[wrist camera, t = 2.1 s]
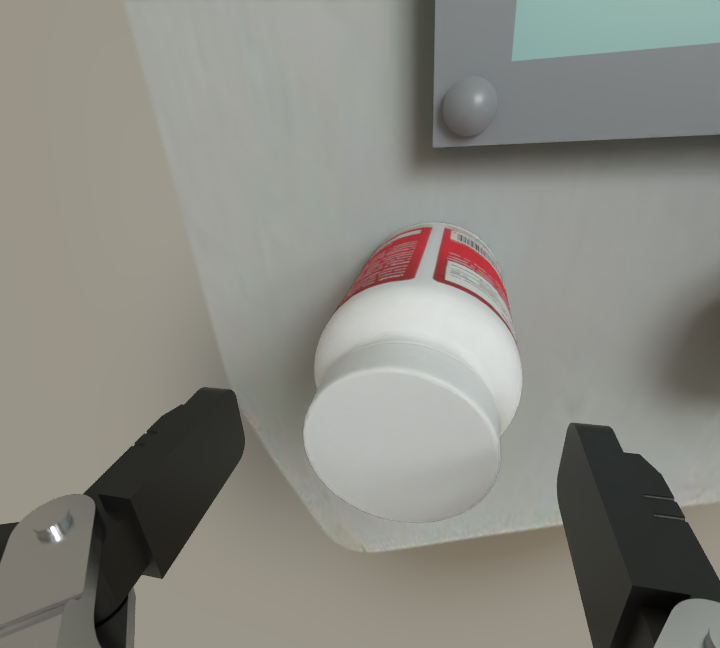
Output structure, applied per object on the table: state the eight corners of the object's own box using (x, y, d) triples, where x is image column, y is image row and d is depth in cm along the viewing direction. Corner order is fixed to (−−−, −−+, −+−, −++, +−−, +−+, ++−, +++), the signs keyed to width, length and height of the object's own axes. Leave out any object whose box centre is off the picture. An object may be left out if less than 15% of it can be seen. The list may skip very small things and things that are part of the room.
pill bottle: (363, 332, 21) (274, 512, 12) (372, 211, 18) (266, 315, 9) (487, 354, 20) (503, 571, 11) (518, 228, 17) (577, 369, 8)
